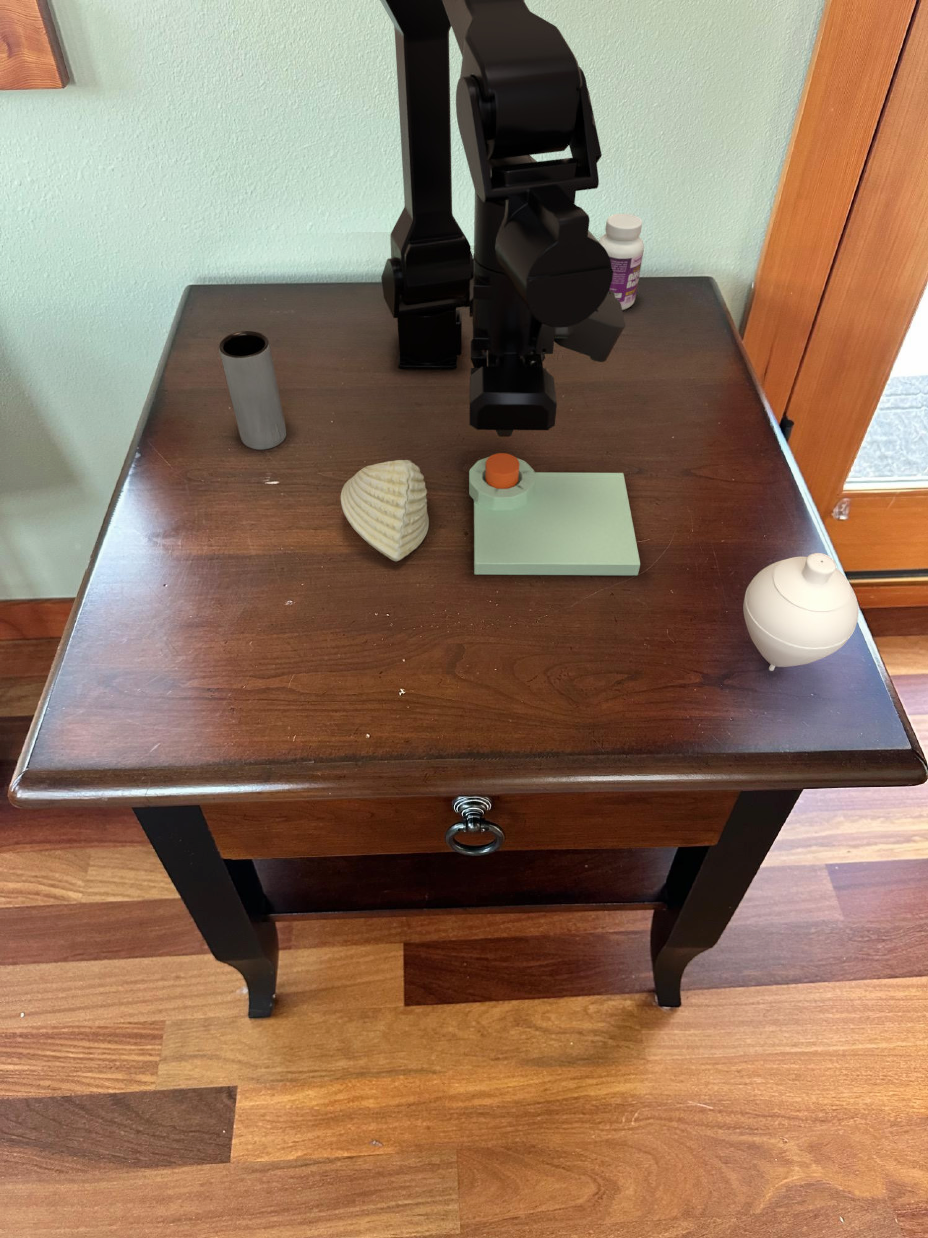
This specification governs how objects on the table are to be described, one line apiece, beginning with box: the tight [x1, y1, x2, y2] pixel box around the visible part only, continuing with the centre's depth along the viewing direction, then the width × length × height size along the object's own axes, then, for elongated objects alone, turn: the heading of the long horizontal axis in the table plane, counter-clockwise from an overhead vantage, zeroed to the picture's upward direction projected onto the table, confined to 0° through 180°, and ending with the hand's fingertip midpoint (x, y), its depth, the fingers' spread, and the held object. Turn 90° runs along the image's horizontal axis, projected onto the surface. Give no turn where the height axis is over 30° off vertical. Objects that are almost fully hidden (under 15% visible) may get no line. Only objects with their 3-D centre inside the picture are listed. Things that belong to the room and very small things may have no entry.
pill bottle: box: [598, 213, 645, 311], centre depth 98 cm, size 5×5×10 cm
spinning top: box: [742, 552, 859, 672], centre depth 60 cm, size 8×8×12 cm
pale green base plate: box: [468, 456, 641, 576], centre depth 74 cm, size 14×12×3 cm
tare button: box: [485, 452, 519, 489], centre depth 75 cm, size 3×3×2 cm
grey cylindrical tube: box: [218, 330, 287, 450], centre depth 80 cm, size 4×4×10 cm
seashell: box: [340, 459, 430, 562], centre depth 73 cm, size 8×8×8 cm
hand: (504, 434), depth 72 cm, fingers closed
